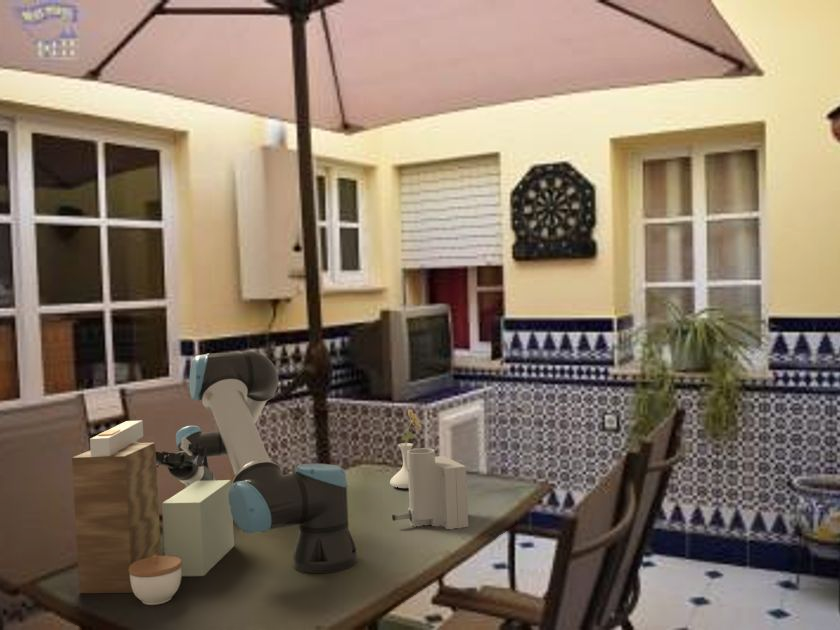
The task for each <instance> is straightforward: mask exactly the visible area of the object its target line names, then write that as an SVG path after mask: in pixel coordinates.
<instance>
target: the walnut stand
mask: <svg viewBox="0 0 840 630" xmlns="http://www.w3.org/2000/svg"><path fill="white" fill-rule="evenodd" d="M156 451H157V450H156V442H139V443H131V444H129V445H128V446H126V447H124V448H123V449H121V450H119V451H118V452H116V453H114V454H112V455H111V456H104V457H91V449H90V450H88V451H85V452H83V453H80V454H78V455H77V454H76V455H75V456H73V457H71V462H72V463H71V465H72V485H73V498H74V499H73V502H74V516H75V534H76V536H75V537H76V538H75V539H76V552H77V553H76V555H77V556H76V557H77V569H78V570H77V571H78V572H77V573H78V574H77V575H78V590H79V591H78V592H79V594H110V593H111V594H112V593H113V594H114V593H116V594H119V593H120V594H123V593H125V594H126V593H128V594H129V593H130V594H132V593H134V592H133V590H132V587H131V583H130V573H129V566H130V565H131V564H132V563H134V562H136V561H138V560H141V559H145V558H149V557H152V556H154V555H157V556H162V547H161V530H160V527H161V526H160V511H159V510H160V508H159V492H158V491H159V490H158V471H157V468H158V467H156Z"/></svg>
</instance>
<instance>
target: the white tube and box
mask: <svg viewBox="0 0 840 630" xmlns="http://www.w3.org/2000/svg"><path fill="white" fill-rule="evenodd" d="M407 462H408V484H409V488H408V501H409V502H408V503H409V507H407V512H405V513H397V514H392V516H391V519H392V521H393V522H394V521H401V520H407V519H408V522H409V524H411V525H410V526H411V527H414V528H416V526H417V527H423V526H422V525H425V526H431V525H432V527H433V526H435V527H439V526H438V525H441V526H440V527H443V526H444V527H445V528H444V527H443V528H444V529H446V530H447V529H450V530H455V529H454V528H458V529H462V527H463V528H468V527H469V511H468V510H469V509H468V505H469V504H468V487H467V484H468V483H467V482H468V481H467V467H466V465H463V464H462V463H460V462H458V461H455V460H453V459H451V458H449V457H447V456H445V455H439V456H437V455H436V452H435V449H433V448H429V447H428V448H426V447H424V448H418V447H417V448H411V450H408V451H407ZM429 524H431V525H429Z"/></svg>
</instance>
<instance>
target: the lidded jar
mask: <svg viewBox="0 0 840 630" xmlns="http://www.w3.org/2000/svg"><path fill="white" fill-rule="evenodd" d="M181 565H182V560H181V559H180V558H179V557H175V556H165V555H161V556H157V555H154V556H152V557H149V558H145V559H141V560H138V561H136V562H134V563H132V564H131V565H130V566H129V573H130V583H131V587H132V590H133V592H132V593H133V594H134V596H135V597H136V598H138V600H140V601H141V603H142V604H143V605H147V606H154V605H155V606H156V605H160V604H164V603H167V602H169V601H171V600H172V599H173V596H175V594H176V592H178V590H179V588H180V585H181V581H182V576H181Z"/></svg>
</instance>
